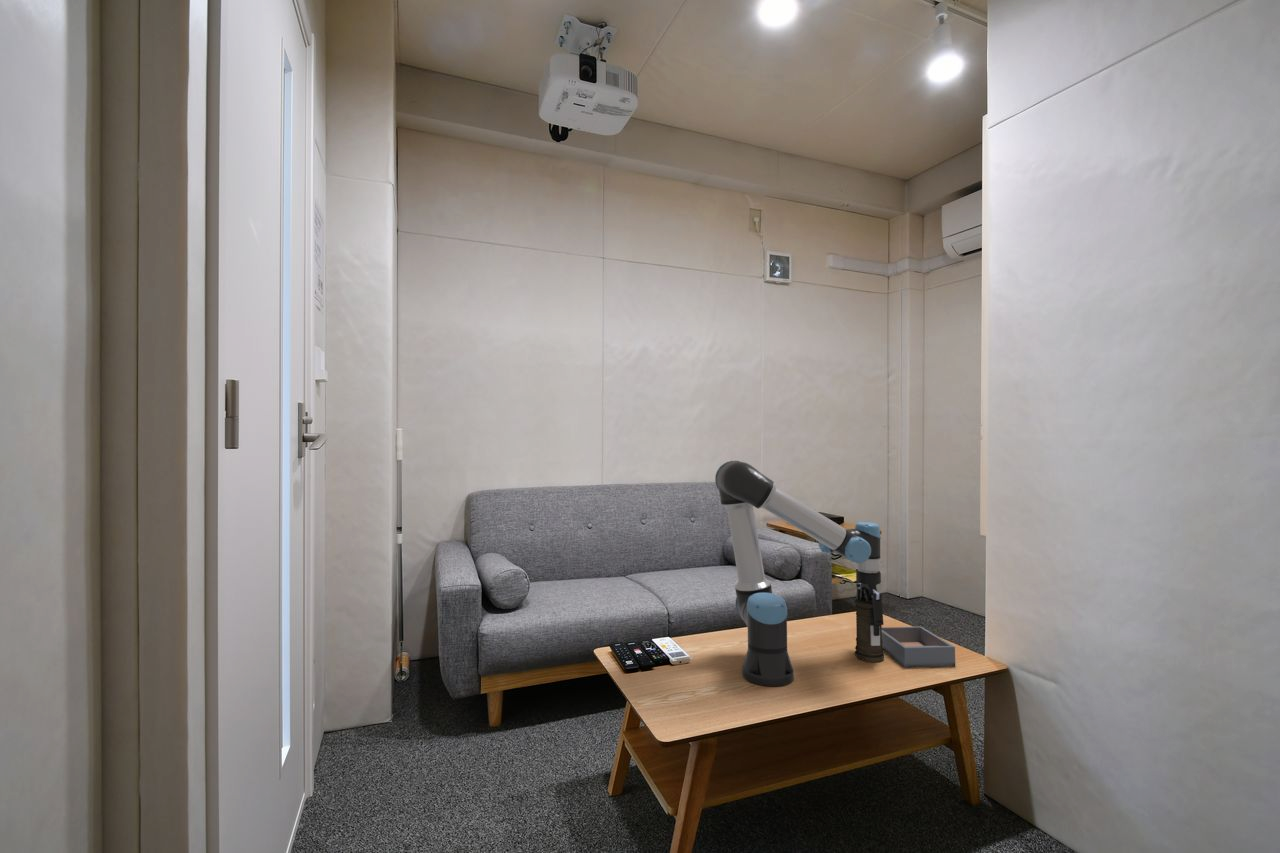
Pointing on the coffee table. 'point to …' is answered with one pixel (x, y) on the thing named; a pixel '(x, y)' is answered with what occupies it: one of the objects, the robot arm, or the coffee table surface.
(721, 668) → the coffee table surface
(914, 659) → the walled box
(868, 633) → the container
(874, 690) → the coffee table surface
